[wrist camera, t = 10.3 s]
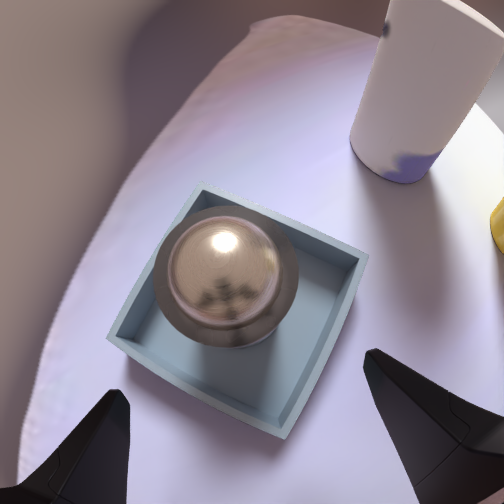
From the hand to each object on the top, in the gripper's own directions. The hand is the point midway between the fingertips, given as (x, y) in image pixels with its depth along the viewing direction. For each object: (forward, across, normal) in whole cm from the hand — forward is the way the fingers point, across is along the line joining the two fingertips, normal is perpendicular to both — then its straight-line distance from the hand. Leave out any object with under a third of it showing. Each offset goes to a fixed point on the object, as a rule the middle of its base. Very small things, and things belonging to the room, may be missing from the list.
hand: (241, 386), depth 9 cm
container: (+22, -19, -5) cm, 30 cm away
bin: (+12, 0, +5) cm, 13 cm away
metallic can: (+11, 0, +5) cm, 12 cm away
